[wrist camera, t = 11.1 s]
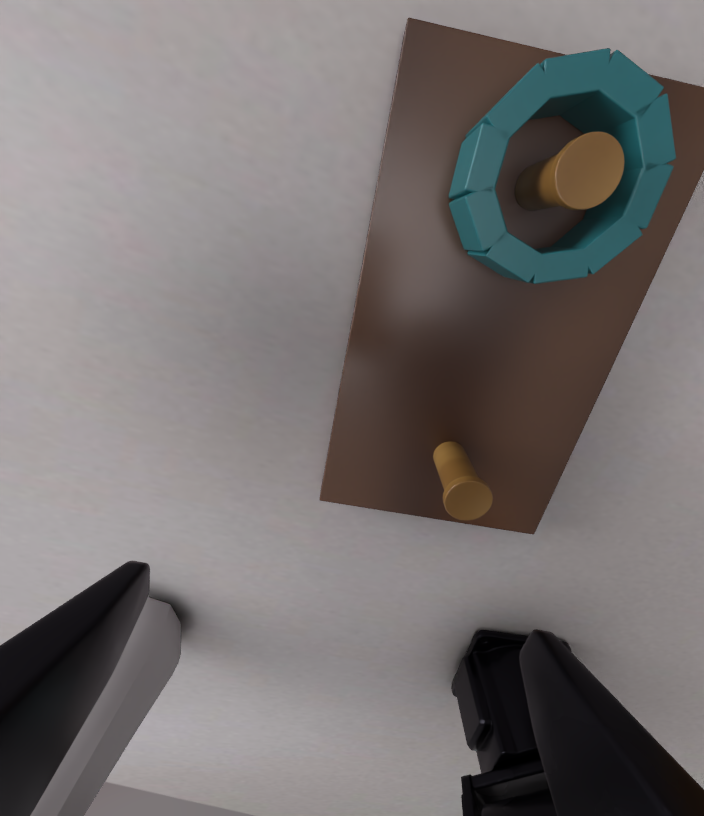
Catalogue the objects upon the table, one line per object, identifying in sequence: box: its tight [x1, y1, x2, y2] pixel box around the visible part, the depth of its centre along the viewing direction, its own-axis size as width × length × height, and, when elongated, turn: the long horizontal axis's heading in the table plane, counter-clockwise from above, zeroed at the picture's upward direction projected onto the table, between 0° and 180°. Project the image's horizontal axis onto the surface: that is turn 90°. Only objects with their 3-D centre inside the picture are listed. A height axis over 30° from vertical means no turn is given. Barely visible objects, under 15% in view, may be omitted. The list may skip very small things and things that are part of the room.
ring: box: [449, 48, 676, 284], centre depth 14 cm, size 6×7×3 cm
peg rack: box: [320, 18, 704, 534], centre depth 16 cm, size 12×20×5 cm, turn 170°
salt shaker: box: [31, 597, 181, 816], centre depth 20 cm, size 6×6×13 cm
